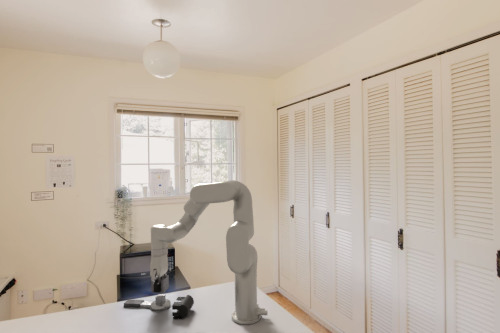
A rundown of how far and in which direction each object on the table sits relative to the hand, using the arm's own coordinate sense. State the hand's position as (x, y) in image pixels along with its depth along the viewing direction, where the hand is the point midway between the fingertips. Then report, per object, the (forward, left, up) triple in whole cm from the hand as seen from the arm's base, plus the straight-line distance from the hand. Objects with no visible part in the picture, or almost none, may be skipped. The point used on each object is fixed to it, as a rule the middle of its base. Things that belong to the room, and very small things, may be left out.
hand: (160, 288), depth 141 cm
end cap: (-14, +6, -9) cm, 17 cm away
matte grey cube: (0, 0, -1) cm, 1 cm away
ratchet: (+7, 0, -8) cm, 11 cm away
